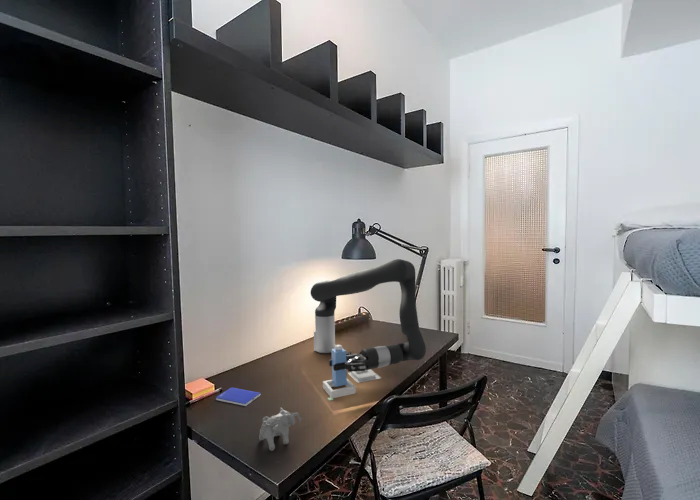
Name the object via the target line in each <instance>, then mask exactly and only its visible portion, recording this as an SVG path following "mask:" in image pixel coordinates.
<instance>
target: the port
mask: <svg viewBox="0 0 700 500" xmlns="http://www.w3.org/2000/svg"><path fill="white" fill-rule="evenodd" d="M344 386H345V387H342V388H337V387H336V386H335V385H334V384H333V383H332V379H329V380H322V388H323V390H324V391H325V393H327V395H328V396H329V397H327V401H329V402H330V401H334V399H336V398H340V397H345V396H350V395H353V394H357V391H356V389H357V388H356V385H355V384H354V383H352V381H351V380H350V379H348V377H347V385H344ZM335 387H336V389H333V388H335Z"/></svg>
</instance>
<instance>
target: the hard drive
mask: <svg viewBox="0 0 700 500" xmlns="http://www.w3.org/2000/svg"><path fill="white" fill-rule="evenodd" d="M260 396H261V392H259V391H253V390H252V391H251V390H246V389H242V388H237V387H230V388H228V389H227V390H225V391H223V392H222V393H220V394H218V395H217V396H216V397H215V400H216V401H220V402H224V403H229V404H230V403H231V404H234V405H239V406H244V407H247V406H248V405H249V404H251V403H252V402H253V401H255V400H256V399H258V398H259V397H260Z"/></svg>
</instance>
